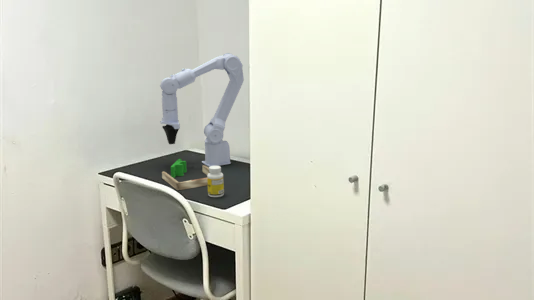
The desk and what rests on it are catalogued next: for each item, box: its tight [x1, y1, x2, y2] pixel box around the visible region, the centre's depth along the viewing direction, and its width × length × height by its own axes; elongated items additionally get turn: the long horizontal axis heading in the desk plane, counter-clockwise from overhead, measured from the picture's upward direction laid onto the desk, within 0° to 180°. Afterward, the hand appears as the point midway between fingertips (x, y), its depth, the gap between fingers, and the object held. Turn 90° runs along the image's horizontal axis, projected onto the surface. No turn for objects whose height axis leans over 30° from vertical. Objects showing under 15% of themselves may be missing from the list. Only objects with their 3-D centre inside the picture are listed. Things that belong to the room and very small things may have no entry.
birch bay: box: [161, 164, 210, 191], centre depth 209 cm, size 17×16×3 cm
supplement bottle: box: [206, 165, 225, 198], centre depth 193 cm, size 5×5×10 cm
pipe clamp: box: [170, 158, 188, 179], centre depth 217 cm, size 11×4×5 cm, turn 173°
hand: (171, 143), depth 224 cm, fingers closed
